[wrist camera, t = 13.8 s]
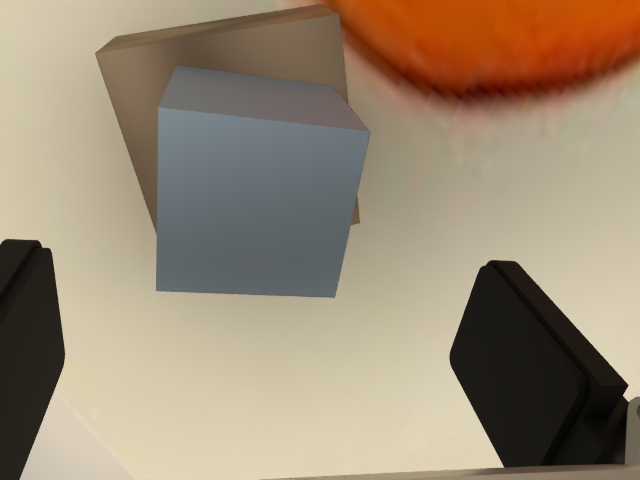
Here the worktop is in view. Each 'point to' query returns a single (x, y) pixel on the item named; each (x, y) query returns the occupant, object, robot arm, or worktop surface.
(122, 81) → the walnut block
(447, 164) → the worktop surface
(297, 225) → the slate cube
